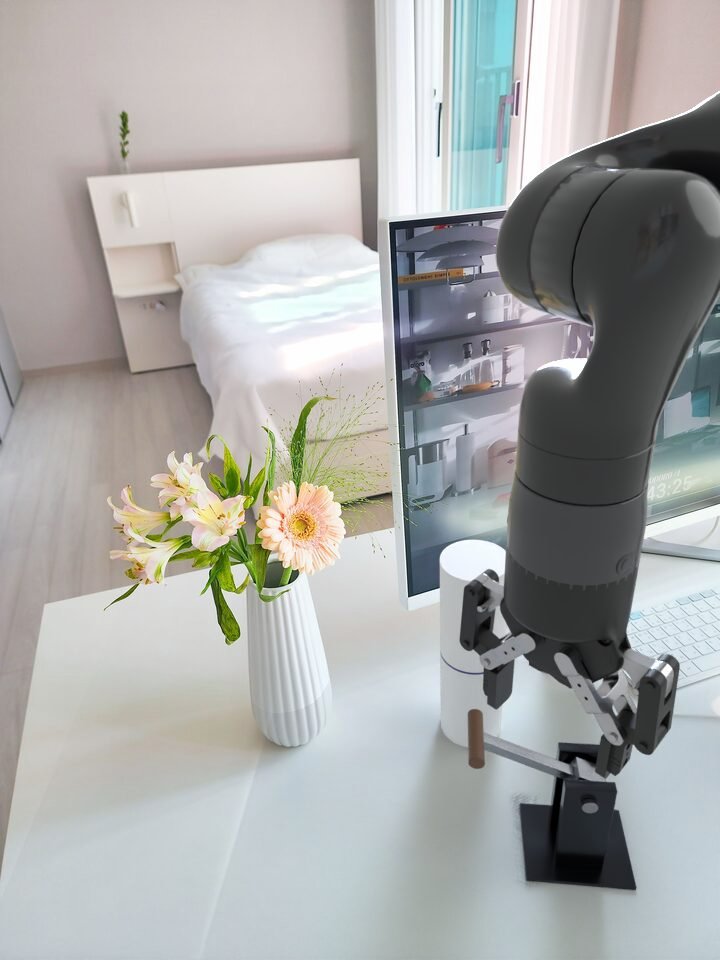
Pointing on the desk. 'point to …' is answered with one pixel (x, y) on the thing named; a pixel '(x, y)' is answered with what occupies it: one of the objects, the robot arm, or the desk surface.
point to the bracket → (577, 831)
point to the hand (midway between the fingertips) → (550, 732)
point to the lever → (521, 754)
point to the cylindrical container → (456, 663)
